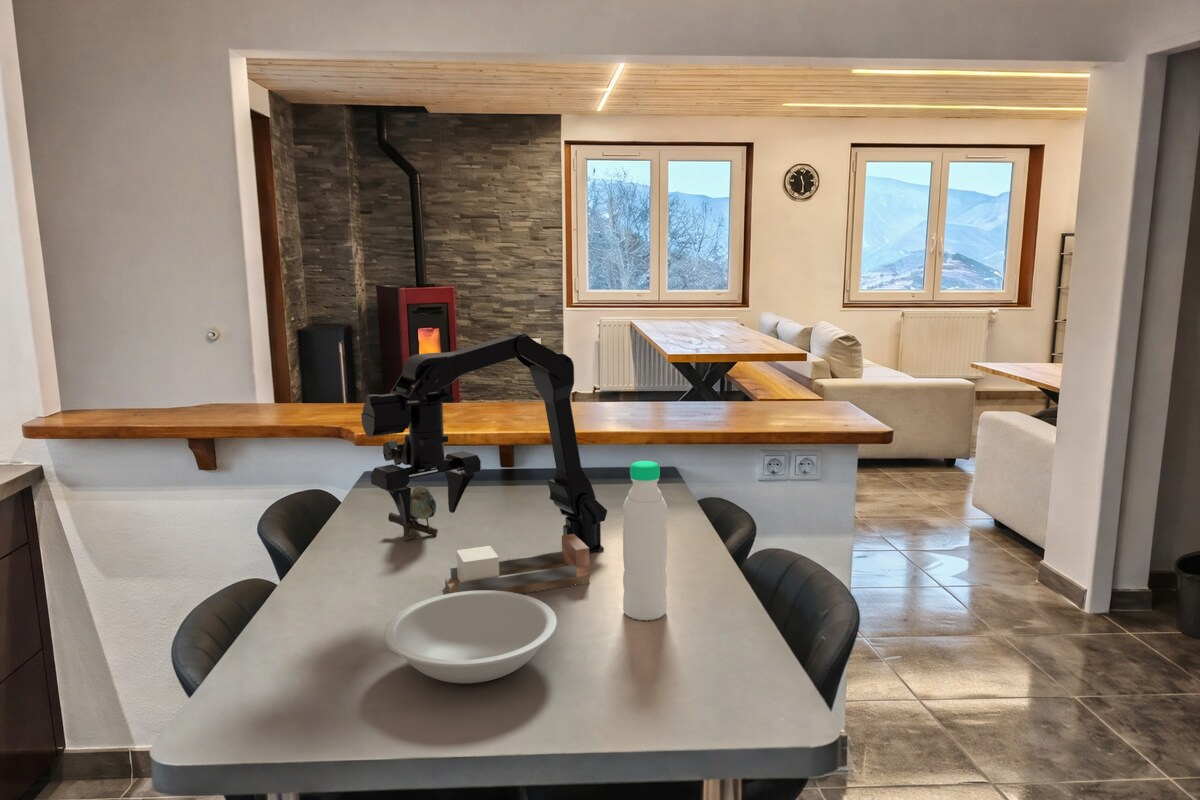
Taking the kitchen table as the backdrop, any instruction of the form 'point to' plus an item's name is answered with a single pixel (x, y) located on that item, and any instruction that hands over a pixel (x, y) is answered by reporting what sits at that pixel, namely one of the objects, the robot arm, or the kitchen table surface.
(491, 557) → the block
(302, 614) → the kitchen table surface
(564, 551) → the track
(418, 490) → the bird figurine
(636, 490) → the water bottle
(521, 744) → the kitchen table surface
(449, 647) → the soup bowl
